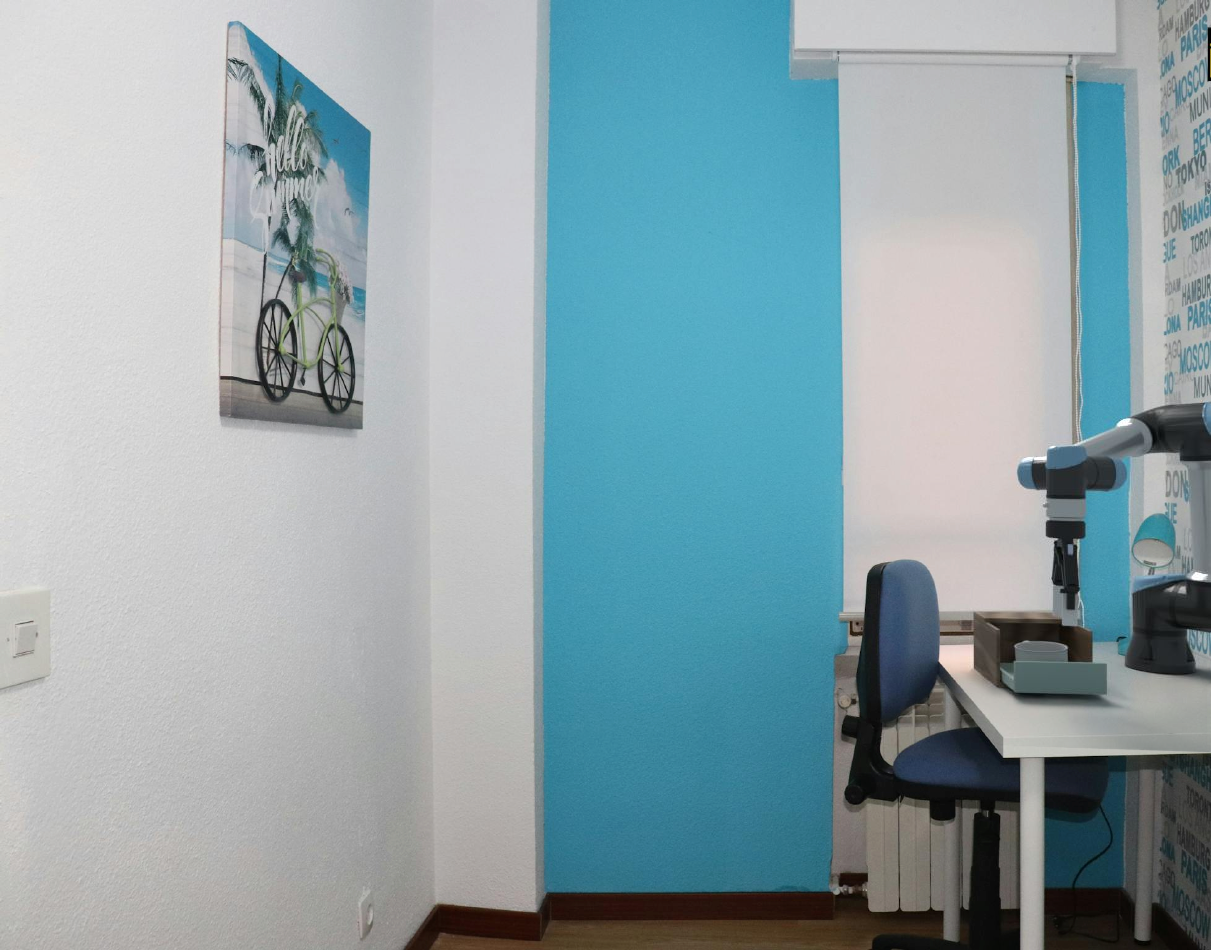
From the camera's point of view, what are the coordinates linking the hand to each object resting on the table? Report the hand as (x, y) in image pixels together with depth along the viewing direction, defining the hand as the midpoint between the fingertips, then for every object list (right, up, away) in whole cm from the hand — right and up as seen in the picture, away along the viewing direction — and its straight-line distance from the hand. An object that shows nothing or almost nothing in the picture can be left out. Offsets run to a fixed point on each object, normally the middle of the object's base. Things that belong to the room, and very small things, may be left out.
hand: (1064, 620), depth 195 cm
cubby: (+4, -17, +25) cm, 31 cm away
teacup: (+1, -16, +15) cm, 21 cm away
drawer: (+3, -16, +14) cm, 22 cm away
